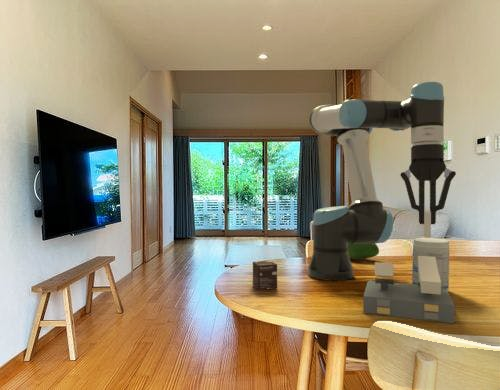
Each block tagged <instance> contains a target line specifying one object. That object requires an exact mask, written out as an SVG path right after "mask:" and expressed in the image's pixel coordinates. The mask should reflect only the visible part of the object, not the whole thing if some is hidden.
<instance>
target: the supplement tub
mask: <svg viewBox="0 0 500 390" xmlns="http://www.w3.org/2000/svg"><path fill="white" fill-rule="evenodd" d="M418 256H429V257H435V259H436V263H437V267H438V271H439V276H440V280H441V287H445V288H446V290H447V292H448V293H449V290H450V289H449V287H450V286H449V285H450V283H449V282H450V281H449V280H450V240H447V239H443V238H435V237H434V238H433V237H431V238H424V237H416V238H414V239H413V243H412V265H411V266H412V271H411V272H412V274H411V275H412V277H411V284H415V285H418V282H420V281H419V273H418Z"/></svg>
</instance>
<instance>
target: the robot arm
mask: <svg viewBox="0 0 500 390" xmlns="http://www.w3.org/2000/svg"><path fill="white" fill-rule="evenodd" d="M409 95H410V97H409V98H407V99H405V100H401V101H400V100H373V99H372V100H370V99H369V100H368V99H358V98H357V99H356V98H354V99H346V100H344V101H343V102H342V103H341V104H323V105H319V106H316V107H315V108H313V109H312V110H311V111H310V113H309V115H308V125H309V126H310V128H311V130H313V131H314V133H316V134H319V135H322V136H329V137H330V136H334V137H336V139H337V143H338V144H340V145H341V146H342V150H343V156H344V157H343V158H344V162H345V168H346V174H347V180H348V181H347V182H348V187H349V192H350V198H351V199H350V200H351V203H350V204H349V205H348V206H347V205H338V206H330V207H322V208H318V209H316V210H315V211H314V212H313V218H312V230H313V231H312V235H313V236H312V241H313V242H312V243H313V244H312V245H313V246H312V255H311V258H310V261H309V264H308V267H307V275H308V277H310V278H313V279H317V280H323V281H324V280H326V281H346V280H351V279H352V278H354V276H355V275H354V274H355V273H354V268H353V264H352V261H351V258H350V257H349V255H348V244H376V245H377V244H383V243H386V242H387V241H388V240H389V239H390V237H391V236H392V233H393V228H394V217H393V215H392V212H391V211H390V210H389V209H387V208H384V206H383V202H382V201H381V200H379V199H378V198H377V191H376V187H375V183H374V177H373V172H372V166H371V161H370V156H369V152H368V145H367V140H368V138H369V137H370V134H372V132H373V131H372V130H373V128H375V129H389V130H391V131H394V132H398V131H405V130H407V129H410V143H411V145H413V146H411V147H410V165H409V167H408V169H406V170H404V171H401V173H400V174H399V175H400V177H401V179H402V180H403V181H404V185H405V188H406V192H407V195H408V199H409V203H410V207H411V209H413V210H416V211H417V212H418V222H419V225H423V238H432V225H436V223H437V222H436V221H437V215H436V213H437V211H440V210H443V209H444V208H445V205H446V201H447V198H448V194H449V191H450V186H451V182H452V180H453V179H454V177H455V176H457V175H456V171H453V170H451V169H449V168H447V164H446V163H445V161H444V160H445V159H444V156H445V151H444V150H445V146H444V145H443V143H444V141H445V140H444V135H445V134H444V132H445V131H444V123H445V121H444V117H445V113H444V112H445V107H444V106H445V96H444V86H443V84H442V83H440V82H438V81H425V82H420V83H416V84H414V85H413V86H412V87H411V90H410V94H409ZM411 174H412V176H413V177H414V178H415V179H416V180H417V181H418V204H417V202H416V198H415V195H414V192H413V187H412V183H411V179H410V178H411ZM442 174H444V175H443V176H444V178H445V179H444V182H443V185H442V189H441V192H440V195H439V200H438V203H437V180H439V178H440V177H441V175H442ZM427 181H428V182H429V211H425V203H426V202H425V193H426V192H425V190H426V189H425V185H426V184H425V182H427Z"/></svg>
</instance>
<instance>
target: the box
mask: <svg viewBox="0 0 500 390" xmlns="http://www.w3.org/2000/svg"><path fill="white" fill-rule="evenodd" d="M253 285H254V286H255V287H254V286H253ZM252 286H253V287H254V288H256V290H258V289H266V290H268V289H267V288H277V289H278V264H277V263H275V262H273V261H272V260H267V261H265V260H263V261H261V260H260V261H252Z"/></svg>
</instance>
